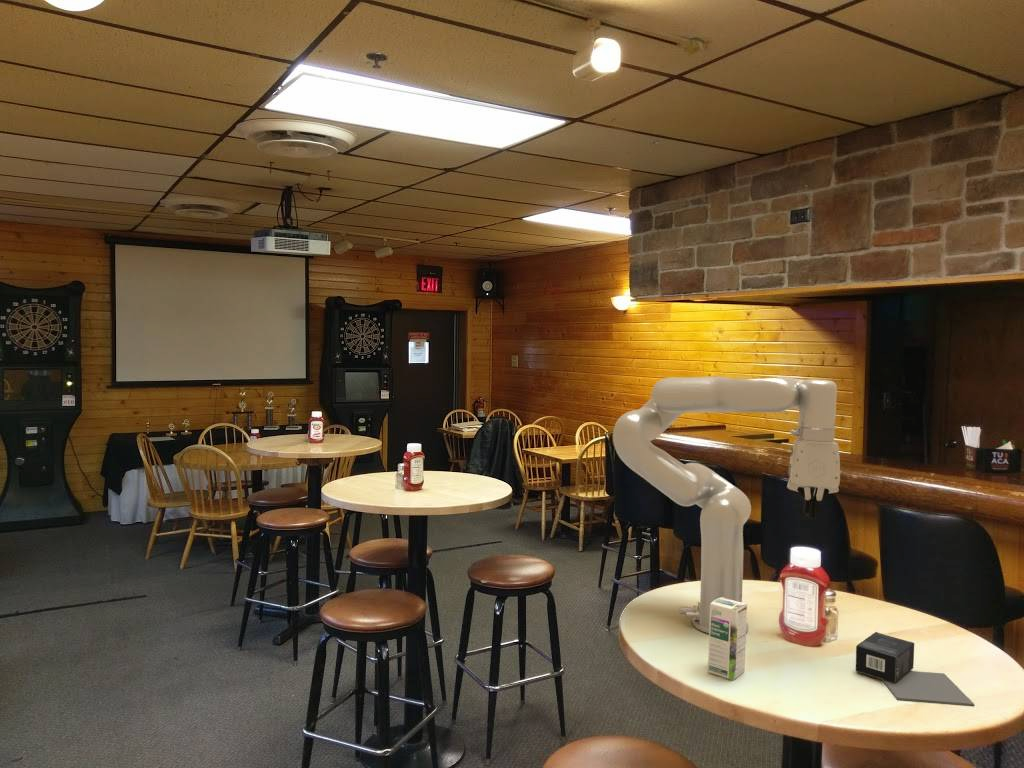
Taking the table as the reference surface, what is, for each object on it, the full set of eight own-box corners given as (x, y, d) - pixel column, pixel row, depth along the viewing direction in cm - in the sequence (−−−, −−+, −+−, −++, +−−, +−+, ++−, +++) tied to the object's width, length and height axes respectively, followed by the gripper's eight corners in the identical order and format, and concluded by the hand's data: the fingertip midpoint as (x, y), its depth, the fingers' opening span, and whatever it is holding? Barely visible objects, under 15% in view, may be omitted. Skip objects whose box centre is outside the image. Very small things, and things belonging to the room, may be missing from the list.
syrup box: (706, 672, 150) (708, 602, 149) (719, 663, 155) (721, 595, 154) (733, 681, 146) (735, 609, 146) (745, 671, 151) (748, 602, 150)
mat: (897, 699, 140) (897, 697, 140) (873, 670, 153) (874, 668, 153) (974, 706, 138) (974, 703, 138) (944, 675, 151) (944, 673, 151)
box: (895, 684, 145) (914, 668, 152) (896, 656, 145) (915, 641, 152) (854, 671, 151) (874, 656, 158) (855, 644, 151) (875, 630, 158)
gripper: (783, 435, 161) (779, 518, 162) (856, 439, 158) (851, 523, 160) (777, 431, 168) (772, 510, 169) (846, 435, 166) (841, 515, 167)
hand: (811, 516), depth 165 cm, fingers closed
